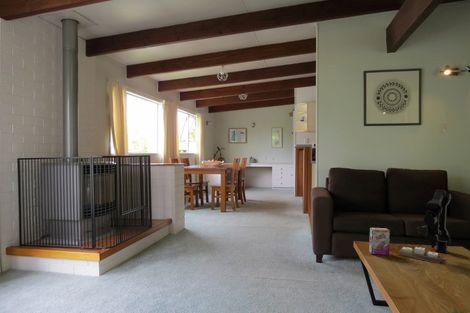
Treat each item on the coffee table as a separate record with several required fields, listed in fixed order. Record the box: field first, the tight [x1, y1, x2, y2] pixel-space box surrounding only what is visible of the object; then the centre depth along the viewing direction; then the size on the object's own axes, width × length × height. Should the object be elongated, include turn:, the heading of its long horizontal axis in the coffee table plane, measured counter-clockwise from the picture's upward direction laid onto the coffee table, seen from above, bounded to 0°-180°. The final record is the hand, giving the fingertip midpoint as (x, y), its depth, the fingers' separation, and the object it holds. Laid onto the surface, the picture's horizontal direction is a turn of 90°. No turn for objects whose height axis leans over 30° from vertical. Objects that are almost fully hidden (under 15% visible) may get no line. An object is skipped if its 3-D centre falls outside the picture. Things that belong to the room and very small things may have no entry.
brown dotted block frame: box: [398, 247, 443, 264], centre depth 191 cm, size 10×22×2 cm, turn 49°
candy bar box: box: [368, 227, 391, 256], centre depth 197 cm, size 11×5×16 cm, turn 84°
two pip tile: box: [413, 246, 426, 255], centre depth 191 cm, size 5×5×3 cm
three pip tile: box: [401, 246, 413, 253], centre depth 196 cm, size 5×5×3 cm
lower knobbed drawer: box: [427, 251, 439, 258], centre depth 187 cm, size 5×5×3 cm
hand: (432, 247), depth 187 cm, fingers closed
